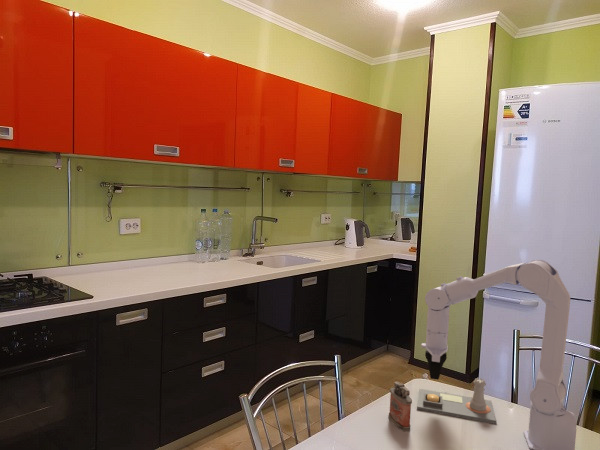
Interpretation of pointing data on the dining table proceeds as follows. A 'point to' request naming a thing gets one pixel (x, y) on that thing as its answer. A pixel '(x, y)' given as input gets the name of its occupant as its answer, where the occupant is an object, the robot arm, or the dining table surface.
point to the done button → (432, 398)
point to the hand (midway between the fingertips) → (434, 378)
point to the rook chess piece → (478, 396)
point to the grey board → (455, 406)
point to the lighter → (400, 406)
